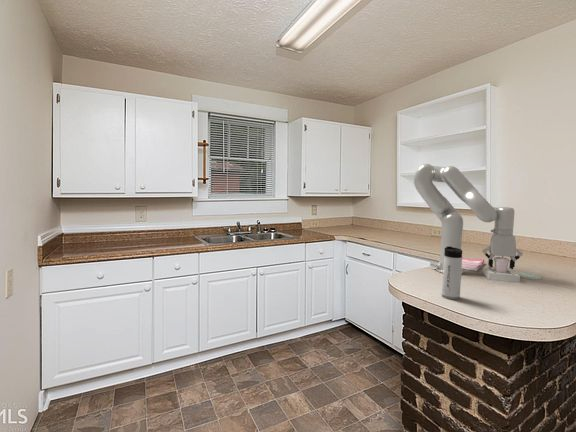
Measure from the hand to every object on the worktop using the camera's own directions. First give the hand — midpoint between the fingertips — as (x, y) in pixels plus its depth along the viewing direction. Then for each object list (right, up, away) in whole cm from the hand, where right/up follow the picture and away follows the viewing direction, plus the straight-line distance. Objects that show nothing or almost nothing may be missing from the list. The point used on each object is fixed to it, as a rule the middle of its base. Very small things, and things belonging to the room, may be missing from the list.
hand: (501, 267), depth 147 cm
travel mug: (-40, -7, -27) cm, 49 cm away
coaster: (+16, -5, +3) cm, 17 cm away
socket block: (0, -5, 0) cm, 5 cm away
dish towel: (-3, -4, +25) cm, 26 cm away
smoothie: (0, -5, +1) cm, 5 cm away
